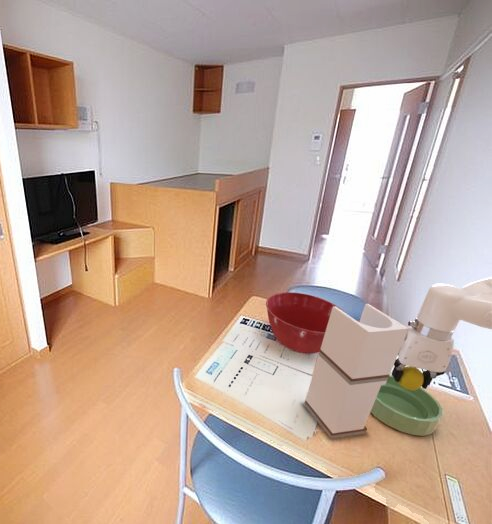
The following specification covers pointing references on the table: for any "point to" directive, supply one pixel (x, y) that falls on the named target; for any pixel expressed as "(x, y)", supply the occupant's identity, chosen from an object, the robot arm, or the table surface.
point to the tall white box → (352, 369)
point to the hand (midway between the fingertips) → (408, 381)
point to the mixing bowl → (299, 320)
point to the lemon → (411, 378)
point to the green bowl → (407, 408)
